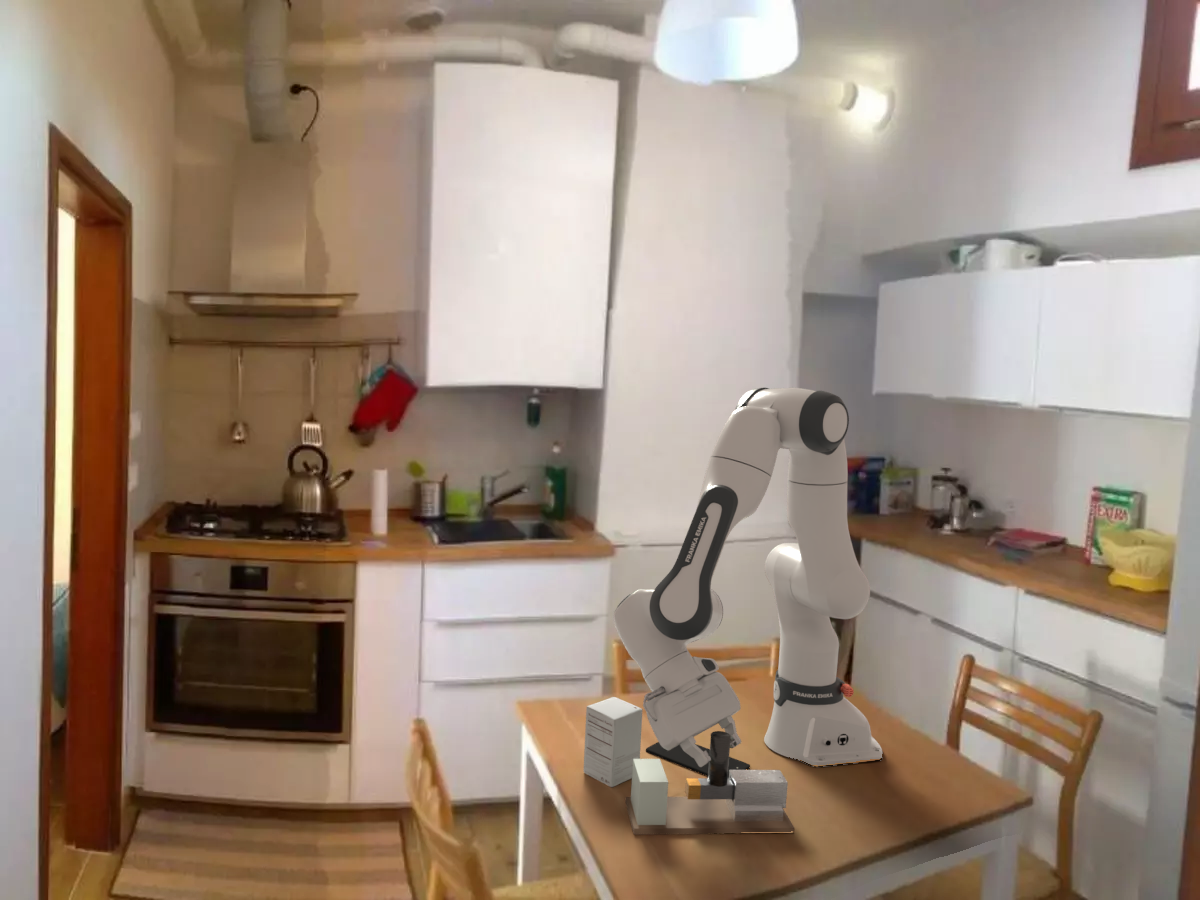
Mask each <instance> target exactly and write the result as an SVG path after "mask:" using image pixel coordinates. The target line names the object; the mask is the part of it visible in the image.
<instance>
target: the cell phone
mask: <svg viewBox="0 0 1200 900" xmlns="http://www.w3.org/2000/svg"><path fill="white" fill-rule="evenodd" d="M695 744H696V743H695ZM696 745H697V746H698V747H699V748H700V749H701V750H702V751H703V752H704V751H707V753H708V756H709V754H710V748H707V747H705V746H702V745H699V744H696ZM645 752H646V753H648V754H650V755H651V756H652V755H653V756H656V757H658V758H659V759H660V758H661V759H662V760H664V761H668V762H670V763H673V764H675V765H677V764H678V766H679V767H682V768H685V767H686V769H688V770H690V769H691V770H690V771H693V772H695V771H696V772H695V773H698V772H699V773H698V774H700V773H702V774H701V775H703V774H704V775H703V776H705V775H707V776H706V777H708V768H709V763H707V764H705V765H704V766H702V767H699V766H698V764H697V762H696V761H695V759H694V758H693V757H691V756H690V755H688V754H687V753H686V752H684V751H683V749H682V747H681V746H680V745H678V746H676V747H674V748H672V749H671V750H666V749H665V748H663V747H662V746H661V745H660V743H659V741H657V742H656V743H653V744H652V745H650V746H648V747H646V748H645ZM749 767H750V768H751V764H749V763H747V762H745V761H742V760H739V759H737V758H734V757H732V756H729V766H728V778H729V770H746V769H748V768H749ZM748 770H749V769H748Z"/></svg>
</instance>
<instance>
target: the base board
mask: <svg viewBox="0 0 1200 900" xmlns="http://www.w3.org/2000/svg"><path fill="white" fill-rule="evenodd" d="M625 806H626V807H625V808H626V810H627V813H628V818H629V822H630V825H631V829H632V832H633V835H715V834H714V833H717V834H716V835H720V834H719V833H722V834H721V835H725V834H724V833H741V832H791V831H794V832H795V826H794V824H793V822H791V819H790V818H789V815H788V814H787V813H786V811H785V808H782V809H783V811H784V812H783V821H734V819H733V817H732V815H731V813H730V811H729V808H728V806H727V804H726V799H688V798H687V796H667V810H666V825H637V821H636V817H635V814H634V810H633V806H632V803H631V796H625ZM703 833H704V834H703ZM708 833H710V834H708ZM711 833H712V834H711Z"/></svg>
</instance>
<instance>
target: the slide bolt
mask: <svg viewBox="0 0 1200 900" xmlns="http://www.w3.org/2000/svg"><path fill="white" fill-rule="evenodd" d="M730 739H731V736H730V734H728V733H726V732H725V731H720V730H716V731H715V730H714V731H712V732H711V733H710V740H709V741H710V744H709V749H710V754H709V756H710V758H711V761H710V762H709V768H708V776H707V777H706V778H700V777H699V778H698V777H697V778H696V777H695V778H693V777H692V778H690V777H689V778H688V777H687V778H685V788H684V793H685V797H687V798H688V799H734V790H735V783H734V782H733V780H732V778H728V766H729V757H730V750H731V748H730Z"/></svg>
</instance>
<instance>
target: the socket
mask: <svg viewBox="0 0 1200 900" xmlns="http://www.w3.org/2000/svg"><path fill="white" fill-rule="evenodd" d="M630 788H631V789H630V790H631V791H630V797H631V803H632V806H633V810H634V814H635V817H636V821H637V825H666V810H667V797H668V791H669V780H668V778H667V774H666V772H665V770H664V766H663V764H662V761H661V759H660V758H640V759H633V770H632V778H631V787H630Z"/></svg>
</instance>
